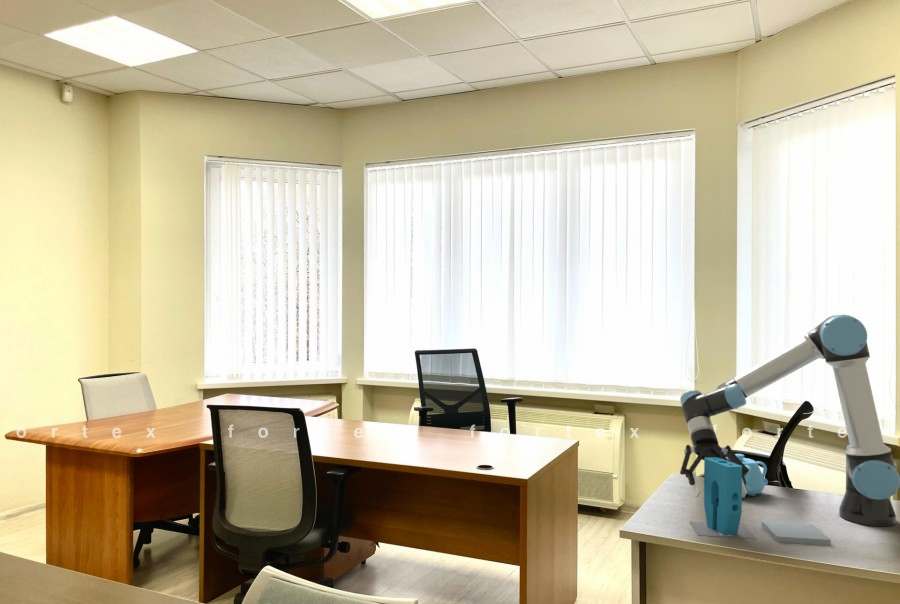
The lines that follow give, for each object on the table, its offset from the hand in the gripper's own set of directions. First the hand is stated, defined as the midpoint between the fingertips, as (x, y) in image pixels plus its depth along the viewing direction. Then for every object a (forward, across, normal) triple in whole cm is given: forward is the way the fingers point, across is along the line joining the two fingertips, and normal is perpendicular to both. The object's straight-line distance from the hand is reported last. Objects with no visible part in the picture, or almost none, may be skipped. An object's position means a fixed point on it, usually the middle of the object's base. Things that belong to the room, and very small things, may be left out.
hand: (721, 494), depth 196 cm
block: (+8, 0, -7) cm, 10 cm away
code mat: (+8, 0, -7) cm, 10 cm away
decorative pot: (-22, -23, -36) cm, 48 cm away
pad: (+10, -20, -4) cm, 23 cm away
